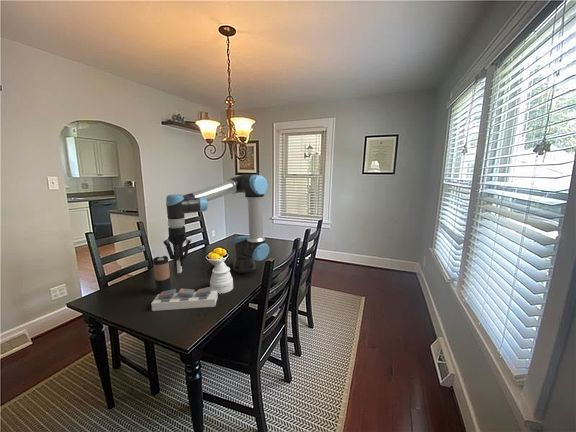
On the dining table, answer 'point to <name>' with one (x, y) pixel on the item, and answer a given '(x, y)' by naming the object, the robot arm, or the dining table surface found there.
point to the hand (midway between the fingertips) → (179, 272)
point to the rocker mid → (186, 292)
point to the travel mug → (161, 274)
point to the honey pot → (221, 278)
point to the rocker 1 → (167, 294)
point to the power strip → (184, 302)
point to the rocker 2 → (203, 291)
